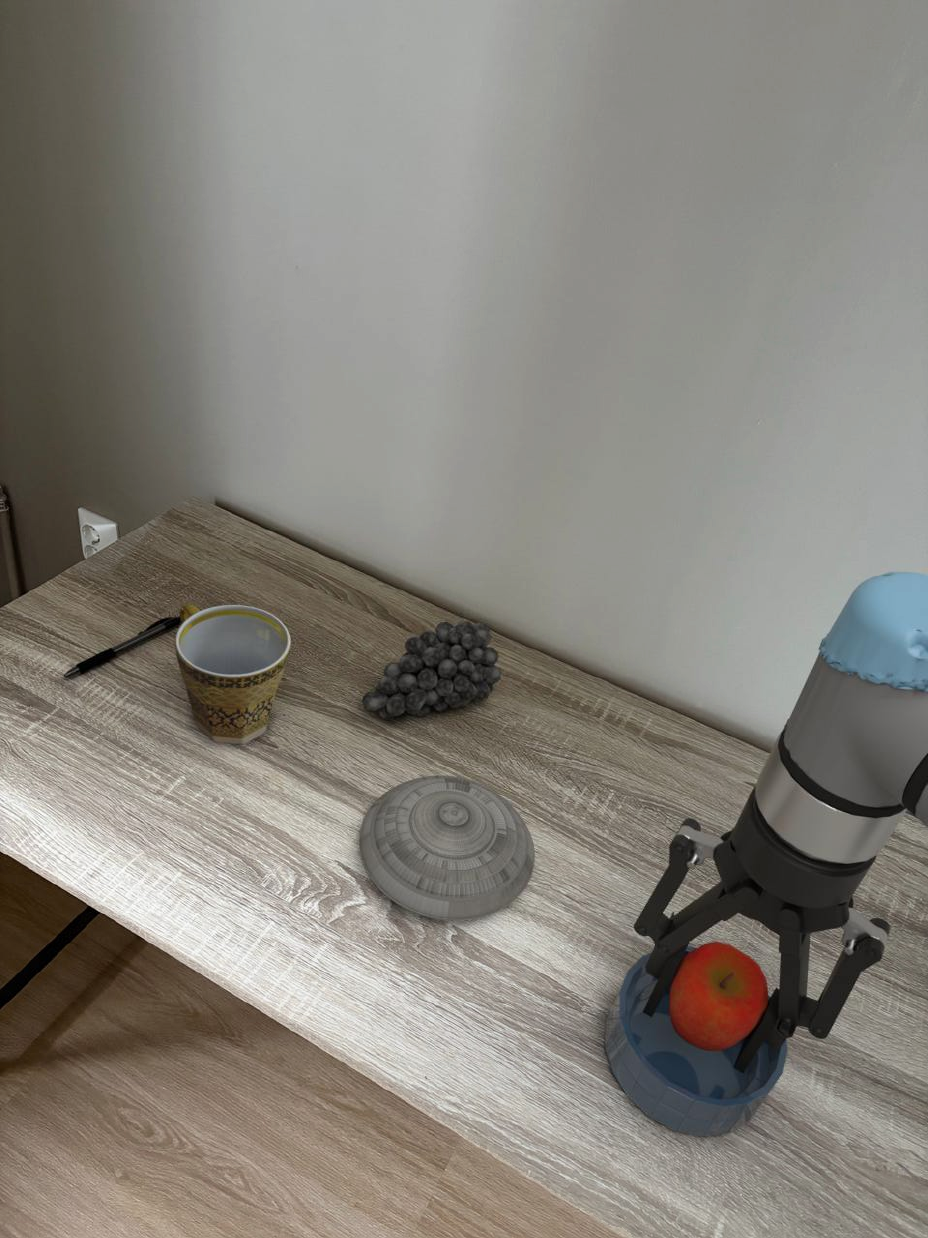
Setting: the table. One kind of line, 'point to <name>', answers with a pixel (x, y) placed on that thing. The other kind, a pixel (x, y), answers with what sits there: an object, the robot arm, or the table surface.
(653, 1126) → the table surface
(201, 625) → the ceramic cup
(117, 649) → the pen
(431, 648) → the fruit
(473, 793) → the flying saucer
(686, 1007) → the apple
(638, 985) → the bowl
